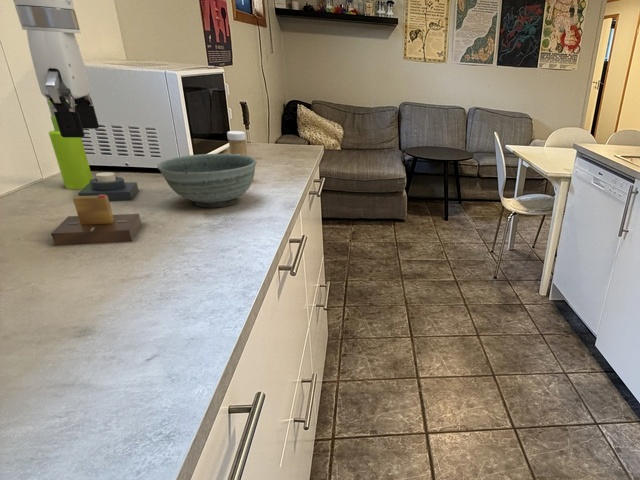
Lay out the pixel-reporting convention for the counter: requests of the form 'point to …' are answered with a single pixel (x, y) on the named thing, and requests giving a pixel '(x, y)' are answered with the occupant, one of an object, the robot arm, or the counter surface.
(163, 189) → the counter surface
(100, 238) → the plate
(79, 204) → the tan wooden block
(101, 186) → the block
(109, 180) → the bell button
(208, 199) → the bowl
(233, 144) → the sprinkles bottle
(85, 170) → the soap dispenser
